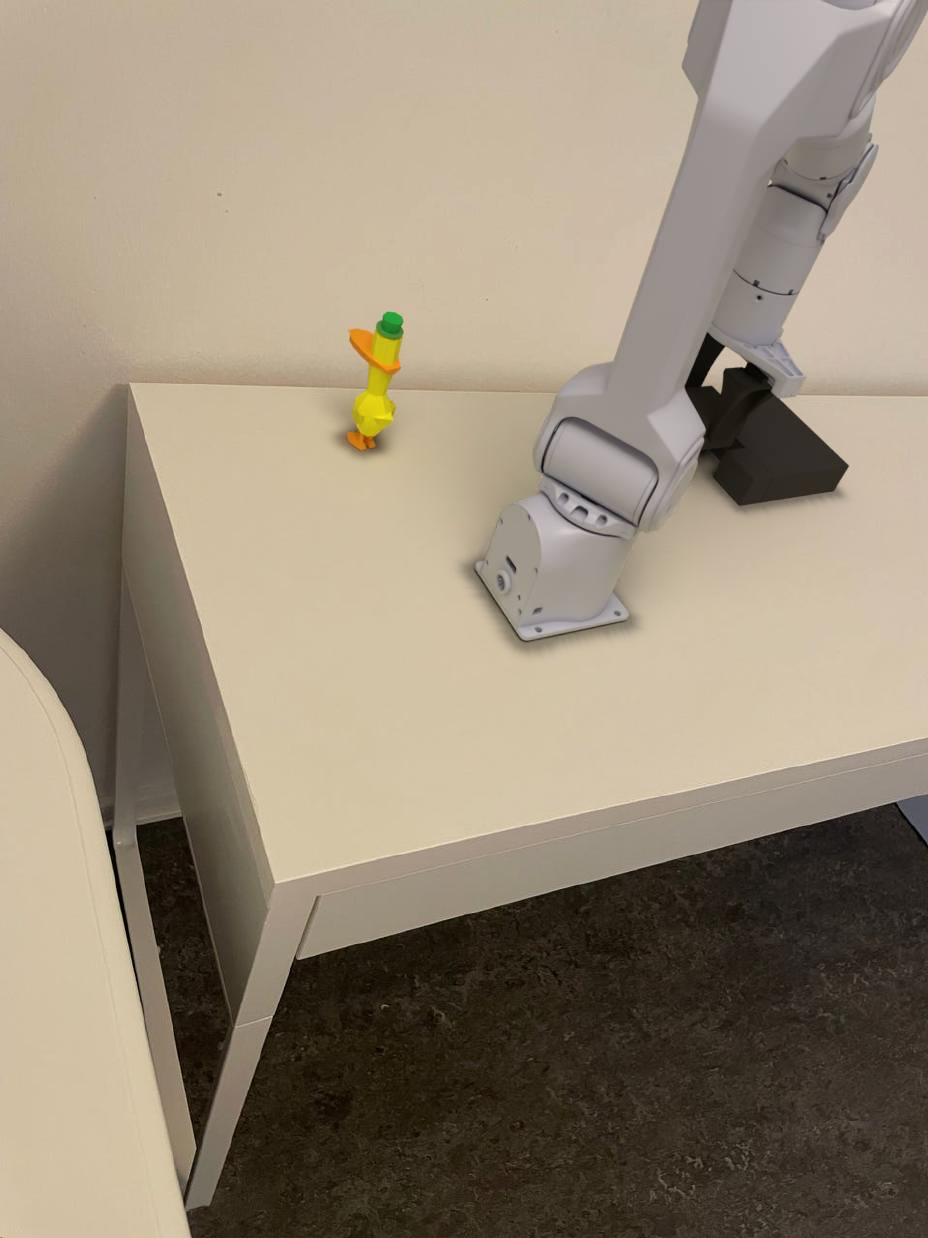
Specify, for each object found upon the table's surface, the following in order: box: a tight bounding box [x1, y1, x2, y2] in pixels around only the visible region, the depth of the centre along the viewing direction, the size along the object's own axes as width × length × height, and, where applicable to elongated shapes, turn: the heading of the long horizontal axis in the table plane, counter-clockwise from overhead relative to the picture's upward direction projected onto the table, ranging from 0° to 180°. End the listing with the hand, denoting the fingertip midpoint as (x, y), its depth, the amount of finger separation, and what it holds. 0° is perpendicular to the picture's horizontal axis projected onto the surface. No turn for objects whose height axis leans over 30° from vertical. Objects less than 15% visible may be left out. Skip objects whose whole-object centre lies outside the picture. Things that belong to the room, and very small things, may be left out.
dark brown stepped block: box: [685, 385, 749, 451], centre depth 91 cm, size 7×5×3 cm
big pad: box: [704, 395, 850, 506], centre depth 97 cm, size 12×12×3 cm
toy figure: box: [346, 311, 405, 452], centre depth 81 cm, size 7×4×12 cm, turn 40°
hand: (698, 419), depth 90 cm, fingers closed on dark brown stepped block, 5 cm apart
